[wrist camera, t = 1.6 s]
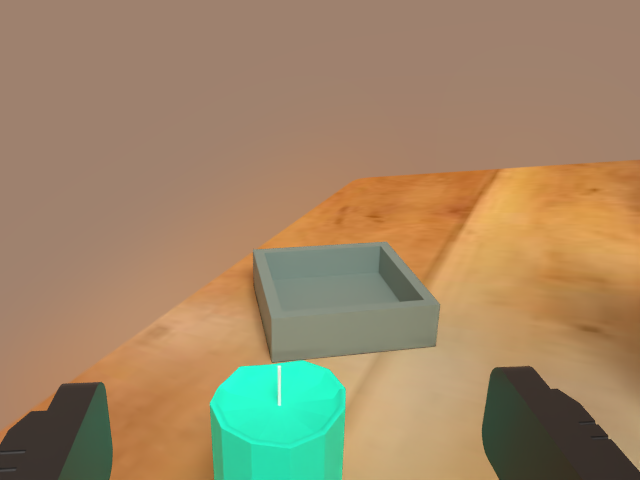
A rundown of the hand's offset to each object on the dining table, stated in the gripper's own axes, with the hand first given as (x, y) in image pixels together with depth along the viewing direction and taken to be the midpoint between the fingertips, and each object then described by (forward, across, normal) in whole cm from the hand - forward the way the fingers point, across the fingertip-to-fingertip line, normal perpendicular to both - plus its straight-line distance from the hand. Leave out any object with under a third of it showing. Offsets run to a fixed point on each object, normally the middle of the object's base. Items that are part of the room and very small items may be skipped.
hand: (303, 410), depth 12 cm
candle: (+11, 0, +18) cm, 22 cm away
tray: (+37, -7, +18) cm, 42 cm away
